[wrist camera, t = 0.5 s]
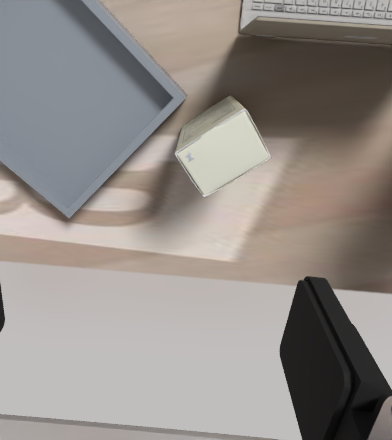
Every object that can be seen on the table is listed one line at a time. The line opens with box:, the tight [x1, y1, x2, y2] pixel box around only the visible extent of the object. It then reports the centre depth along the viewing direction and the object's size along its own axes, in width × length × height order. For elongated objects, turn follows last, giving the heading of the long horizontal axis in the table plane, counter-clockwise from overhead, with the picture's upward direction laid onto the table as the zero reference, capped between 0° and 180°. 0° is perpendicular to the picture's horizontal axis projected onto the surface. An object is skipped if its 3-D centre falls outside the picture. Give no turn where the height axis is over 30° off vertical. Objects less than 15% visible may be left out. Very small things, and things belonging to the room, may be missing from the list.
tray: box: [0, 0, 187, 218], centre depth 35 cm, size 18×20×3 cm
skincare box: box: [175, 96, 271, 197], centre depth 32 cm, size 6×4×12 cm
